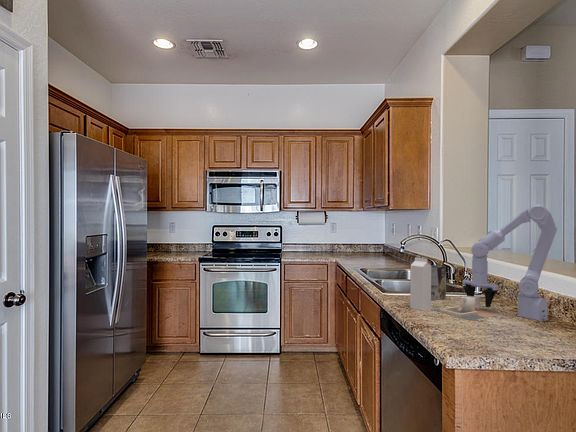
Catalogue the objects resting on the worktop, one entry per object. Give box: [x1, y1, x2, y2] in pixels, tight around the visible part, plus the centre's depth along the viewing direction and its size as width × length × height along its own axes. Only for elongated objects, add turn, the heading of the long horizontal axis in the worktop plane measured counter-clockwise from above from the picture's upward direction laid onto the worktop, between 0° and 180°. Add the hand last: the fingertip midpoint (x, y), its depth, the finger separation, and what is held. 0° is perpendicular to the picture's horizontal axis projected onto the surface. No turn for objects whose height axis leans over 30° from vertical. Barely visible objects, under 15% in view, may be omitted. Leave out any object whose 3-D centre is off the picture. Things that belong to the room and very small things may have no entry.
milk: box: [409, 257, 432, 312], centre depth 163 cm, size 6×6×22 cm
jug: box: [460, 295, 481, 313], centre depth 157 cm, size 10×5×6 cm, turn 120°
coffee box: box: [430, 264, 447, 302], centre depth 184 cm, size 9×6×16 cm
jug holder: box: [432, 304, 502, 321], centre depth 156 cm, size 18×19×2 cm
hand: (479, 305), depth 160 cm, fingers open, 7 cm apart
